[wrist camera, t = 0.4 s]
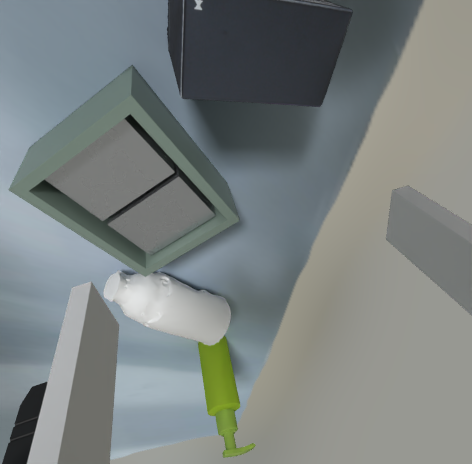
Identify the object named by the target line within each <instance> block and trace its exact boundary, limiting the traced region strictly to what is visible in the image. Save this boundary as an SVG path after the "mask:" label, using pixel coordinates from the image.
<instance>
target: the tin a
mask: <svg viewBox="0 0 472 464" xmlns="http://www.w3.org/2000/svg"><path fill="white" fill-rule="evenodd" d="M173 173H175V169H174V162H173V160H172V159H171V158H170V157H169V156H168V155H167V153H166V152H165V151H164V150H163V149H162V148H161V147H160V146H159V145H158V144H157V143H156V141H155V140H154V139H153V138H152V137H151V136H150V135H149V134H148V133H147V132H146V131H145V129H144V128H143V127H142V126H141V125H140V124H139V123H138V122H137V121H136V120H135V118H134V117H133V116H132V115H131V114H130V115H128V116H127V117H126V118H124V119H123V120H122V121H120V122H119V123H118V124H117V125H115V126H114V127H113V128H111V129H110V130H109V131H107V132H106V133H105V134H103V135H102V136H101V137H99V138H98V139H97V140H95V141H94V142H93V143H91V144H90V145H89V146H88V147H86V148H85V149H84V150H82V151H81V152H80V153H78V154H77V155H76V156H74V157H73V158H72V159H70V160H69V161H68V162H66V163H65V164H64V165H62V166H61V167H60V168H59V169H57V170H56V171H55V172H53V173H52V174H51V175H49V176H48V177H47V178H45V179H44V180H46V181H47V182H49V183H50V184H51V185H53V186H54V187H56V188H57V189H58V190H60V191H61V192H63V193H64V194H65V195H67V196H68V197H70V198H71V199H72V200H74V201H75V202H77V203H78V204H79V205H81V206H82V207H84V208H85V209H86V210H88V211H89V212H90V213H92V214H93V215H95V216H96V217H97V218H99V219H100V220H102V221H104V220H105V219H107V218H108V217H110V216H111V215H112V214H114V213H115V212H117V211H118V210H120V209H121V208H123V207H124V206H126V205H127V204H129V203H130V202H132V201H133V200H135V199H136V198H138V197H139V196H141V195H142V194H144V193H145V192H146V191H148V190H149V189H151V188H152V187H154V186H155V185H157V184H158V183H160V182H161V181H163V180H164V179H166V178H167V177H169V176H170V175H172V174H173Z"/></svg>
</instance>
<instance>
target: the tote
mask: <svg viewBox="0 0 472 464" xmlns="http://www.w3.org/2000/svg"><path fill="white" fill-rule="evenodd" d="M130 114H131V115H132V116H133V117H134V118H135V120H136V121H137V122H138V123H139V124H140V125H141V126H142V127H143V128H144V129H145V131H146V132H147V133H148V134H149V135H150V136H151V137H152V138H153V139H154V140H155V141H156V143H157V144H158V145H159V146H160V147H161V148H162V149H163V150H164V151H165V152H166V153H167V155H168V156H169V157H170V158H171V159H172V160H173V161H174V162H175V163H176V164H177V165H178V167H179V168H180V169H181V170H182V171H183V172H184V173H185V174H186V175H187V176H188V177H189V179H190V180H191V181H192V182H193V183H194V184H195V185H196V186H197V187H198V188H199V189H200V191H201V192H202V193H203V194H204V195H205V196H206V197H207V198H208V199H209V200H210V201H211V203H212V204H213V207H214V210H215V214H216V216H215V217H213V218H211V219H210V220H208V221H206V222H205V223H203V224H202V225H200V226H198V227H197V228H195V229H193V230H192V231H190V232H189V233H187V234H185V235H184V236H182V237H180V238H179V239H177V240H176V241H174V242H172V243H171V244H169V245H167V246H166V247H164V248H163V249H161V250H159V251H158V252H156V253H154V254H153V255H149V254H148V253H146V252H145V251H144V250H142V249H141V248H139V247H138V246H137V245H135V244H134V243H132V242H131V241H130V240H128V239H127V238H125V237H124V236H123V235H121V234H120V233H118V232H117V231H116V230H114V229H113V228H111V227H110V226H109V225H107V223H108V218H107V219H105V220H104V221H102V220H100V219H99V218H97V217H96V216H95V215H93V214H92V213H90V212H89V211H88V210H86V209H85V208H84V207H82V206H81V205H79V204H78V203H77V202H75V201H74V200H72V199H71V198H70V197H68V196H67V195H65V194H64V193H63V192H61V191H60V190H58V189H57V188H56V187H54V186H53V185H51V184H50V183H49V182H47V181H46V180H44V179H45V178H47V177H48V176H49V175H51V174H52V173H53V172H55V171H56V170H57V169H59V168H60V167H61V166H62V165H64V164H65V163H66V162H68V161H69V160H70V159H72V158H73V157H74V156H76V155H77V154H78V153H80V152H81V151H82V150H84V149H85V148H86V147H88V146H89V145H90V144H91V143H93V142H94V141H95V140H97V139H98V138H99V137H101V136H102V135H103V134H105V133H106V132H107V131H109V130H110V129H111V128H113V127H114V126H115V125H117V124H118V123H119V122H120V121H122V120H123V119H124V118H126V117H127V116H128V115H130ZM9 191H11V192H13V193H14V194H16V195H17V196H19V197H20V198H22V199H24V200H25V201H27V202H28V203H30V204H31V205H33V206H35V207H36V208H38V209H39V210H41V211H42V212H44V213H46V214H47V215H49V216H50V217H52V218H53V219H55V220H57V221H58V222H60V223H61V224H63V225H64V226H66V227H68V228H69V229H71V230H72V231H74V232H75V233H77V234H78V235H80V236H82V237H83V238H85V239H86V240H88V241H89V242H91V243H93V244H94V245H96V246H97V247H99V248H100V249H102V250H104V251H105V252H107V253H108V254H110V255H111V256H113V257H115V258H116V259H118V260H119V261H121V262H122V263H124V264H126V265H127V266H129V267H130V268H132V269H133V270H135V271H137V272H138V273H140V274H141V275H143V276H144V277H146V276H148V275H150V274H151V273H153V272H155V271H156V270H158V269H160V268H161V267H163V266H165V265H166V264H168V263H170V262H171V261H173V260H175V259H176V258H178V257H180V256H181V255H183V254H185V253H186V252H188V251H190V250H191V249H193V248H195V247H196V246H198V245H200V244H201V243H203V242H205V241H206V240H208V239H210V238H211V237H213V236H215V235H216V234H218V233H220V232H221V231H223V230H225V229H226V228H228V227H230V226H231V225H233V224H235V223H236V222H238V221H240V219H239V216H238V213H237V210H236V207H235V204H234V202H233V199H232V196H231V193H230V190H229V187H228V184H227V182H226V181H225V180H224V178H223V177H222V176H221V175H220V173H219V172H218V171H217V170H216V168H215V167H214V166H213V165H212V163H211V162H210V161H209V160H208V158H207V157H206V156H205V155H204V154H203V152H202V151H201V150H200V149H199V147H198V146H197V145H196V144H195V142H194V141H193V140H192V139H191V137H190V136H189V135H188V134H187V132H186V131H185V130H184V129H183V127H182V126H181V125H180V124H179V122H178V121H177V120H176V119H175V117H174V116H173V115H172V114H171V112H170V111H169V110H168V109H167V107H166V106H165V105H164V104H163V102H162V101H161V100H160V99H159V97H158V96H157V95H156V94H155V93H154V91H153V90H152V89H151V88H150V86H149V85H148V84H147V83H146V81H145V80H144V79H143V78H142V76H141V75H140V74H139V73H138V71H137V70H136V69H135V68H134V66H133V65H132V66H130V67H129V68H128V69H127V70H125V71H124V72H123V73H122V74H120V75H119V76H118V77H117V78H115V79H114V80H113V81H112V82H110V83H109V84H108V85H107V86H105V87H104V88H103V89H102V90H100V91H99V92H98V93H97V94H95V95H94V96H93V97H92V98H91V99H89V100H88V101H87V102H86V103H84V104H83V105H82V106H81V107H79V108H78V109H77V110H76V111H74V112H73V113H72V114H71V115H69V116H68V117H67V118H66V119H64V120H63V121H62V122H61V123H59V124H58V125H57V126H56V127H54V128H53V129H52V130H51V131H49V132H48V133H47V134H46V135H44V136H43V137H42V138H41V139H39V140H38V141H37V142H36V143H34V144H33V145H32V146H31V147H29V149H28V152H27V154H26V156H25V158H24V160H23V162H22V164H21V166H20V168H19V170H18V172H17V174H16V176H15V178H14V180H13V182H12V184H11V186H10V188H9Z"/></svg>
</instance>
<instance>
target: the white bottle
mask: <svg viewBox="0 0 472 464" xmlns="http://www.w3.org/2000/svg"><path fill="white" fill-rule="evenodd" d="M104 297H105V298H107V299H108V300H109V301H110V302H112V301H115V302H116V303H118V304H119V305H120V307H121V308H122V310H123V313H124V314H125V315H126V316H128V317H129V318H132V319H134V320H136V321H137V322H139V323H142V324H143V325H144V326H145V327H149V328H152V329H155V330H159V331H162V332H166V333H169V334H172V335H177V336H181V337H184V338H187V339H192V340H195V341H199V342H202V343H204V344H205V345H209V346H211V345H214V344H216V343H217V342H218V343H219V340H220V339H222V338H223V336H224V335H225V333H226V332H227V329H228V327H229V323H230V320H231V310H230V307H229V305H228V303H227V302H226V299H225V298H224V297H222V296H218V295H213V294H210V293H209V292H208V291H206V290H200V291H197V290H195V289H193V288H191V287H190V286H188V285H186V284H183V283H181V282H179V281H177V280H176V279H175V278H173V277H170V276H168V275H166V274H164V273H161V272H158V273H151V274H150V275H148V276H146V277H144V276H143V275H141V274H140V273H137V274H134V275H126V274H125V273H123V272H121V271H119V270H118V271H117V272H116V273H115V274H112V275H111V276H110V277H109V279H108V280H107V283H106V286H105V288H104Z"/></svg>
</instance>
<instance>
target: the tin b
mask: <svg viewBox="0 0 472 464" xmlns="http://www.w3.org/2000/svg"><path fill="white" fill-rule="evenodd" d="M173 162H174V161H173ZM174 169H175V173H173V174H172V175H170V176H169V177H167V178H166V179H164V180H163V181H161V182H160V183H158V184H157V185H155V186H154V187H152V188H151V189H149V190H148V191H146V192H145V193H144V194H142V195H141V196H139V197H138V198H136V199H135V200H133V201H132V202H130V203H129V204H127V205H126V206H124V207H123V208H121V209H120V210H118V211H117V212H115V213H114V214H112V215H111V216H110V217H108V223H107V225H109V226H110V227H111V228H113V229H114V230H116V231H117V232H118V233H120V234H121V235H123V236H124V237H125V238H127V239H128V240H130V241H131V242H132V243H134V244H135V245H137V246H138V247H139V248H141V249H142V250H144V251H145V252H146V253H148V254H149V255H153V254H154V253H156V252H158V251H159V250H161V249H163V248H164V247H166V246H167V245H169V244H171V243H172V242H174V241H176V240H177V239H179V238H180V237H182V236H184V235H185V234H187V233H189V232H190V231H192V230H193V229H195V228H197V227H198V226H200V225H202V224H203V223H205V222H206V221H208V220H210V219H211V218H213V217H215V216H216V214H215V210H214V207H213V204H212V203H211V201H210V200H209V199H208V198H207V197H206V196H205V195H204V194H203V193H202V192H201V191H200V189H199V188H198V187H197V186H196V185H195V184H194V183H193V182H192V181H191V180H190V179H189V177H188V176H187V175H186V174H185V173H184V172H183V171H182V170H181V169H180V168H179V167H178V165H177V164H176V163H175V162H174Z"/></svg>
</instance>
